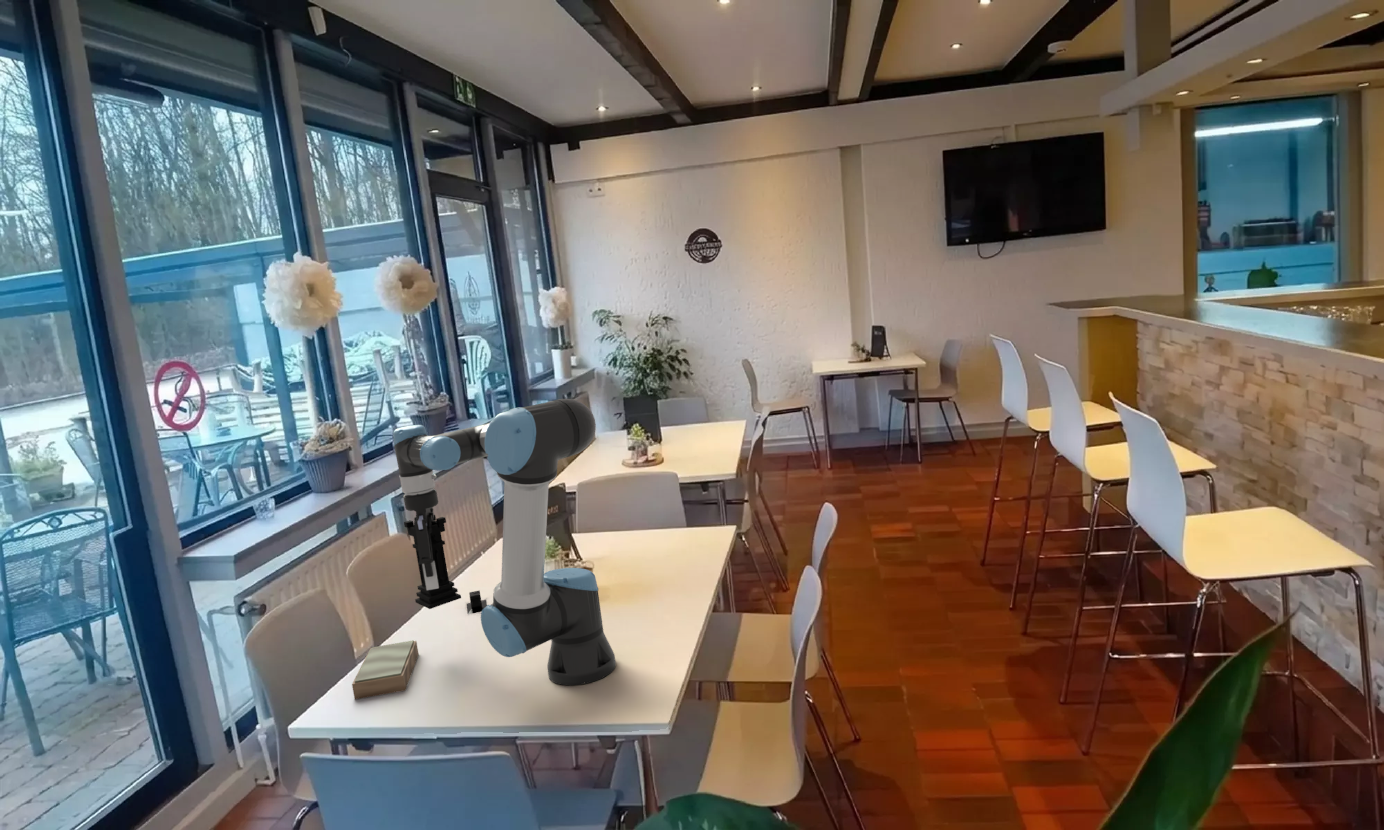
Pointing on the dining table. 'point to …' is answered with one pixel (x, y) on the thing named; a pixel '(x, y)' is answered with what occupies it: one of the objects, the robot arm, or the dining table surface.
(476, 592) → the black blocky piece
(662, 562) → the dining table surface
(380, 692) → the walnut stand
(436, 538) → the chess piece
